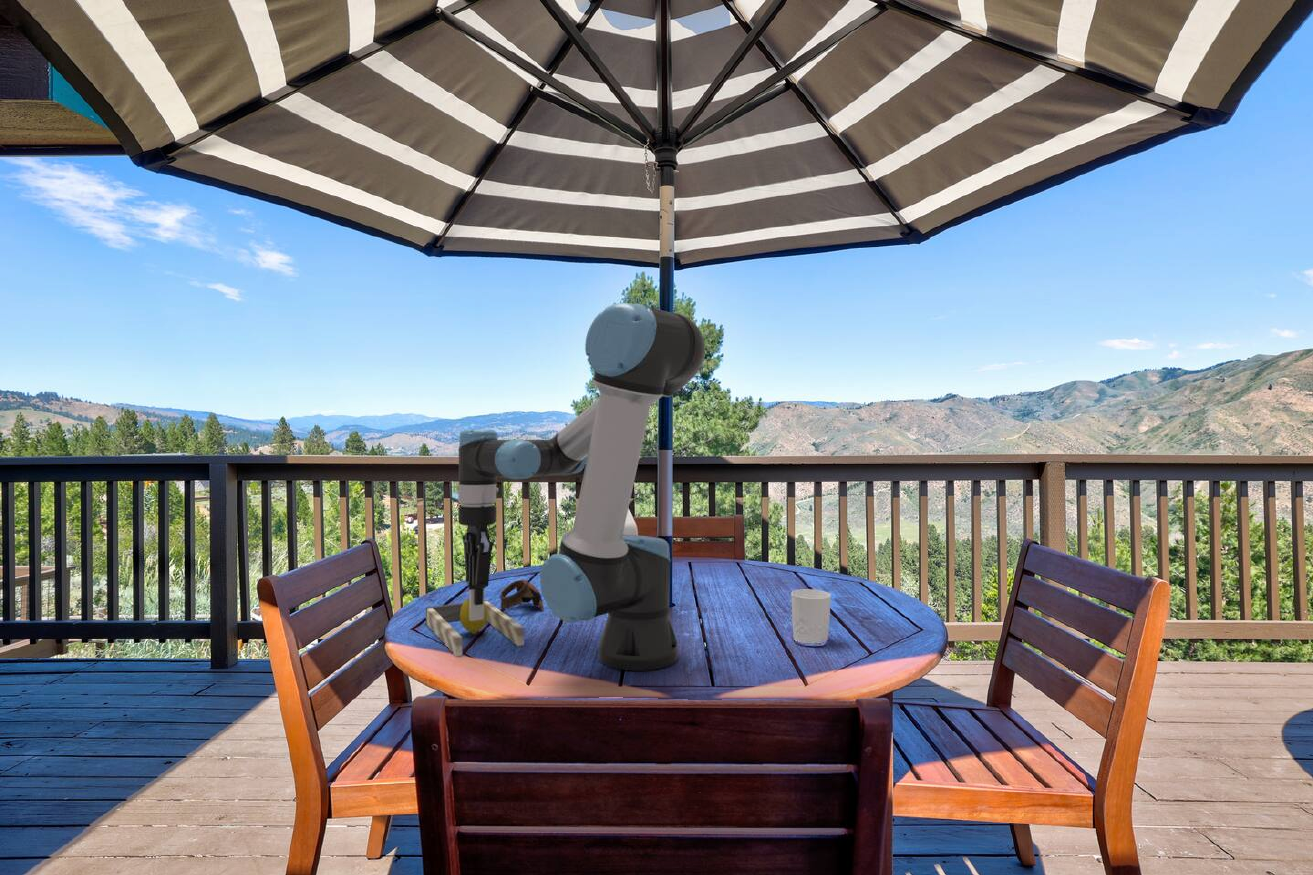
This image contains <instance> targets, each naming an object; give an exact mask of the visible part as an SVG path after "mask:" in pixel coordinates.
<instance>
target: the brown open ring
mask: <svg viewBox="0 0 1313 875" xmlns="http://www.w3.org/2000/svg"><path fill="white" fill-rule="evenodd" d="M536 587H537V586H535V585H533V584H531V583H530V582H529V581H528V580H527V579H526V580H525V579H519V580H515V581H513V582H511V583H510V584H508V585H507V586H506V587H504V588H503V590H502V591H501V594H500V595H499V599H500V608H501V610H502V612H506V611H505V610H506V609H509V608H512V607H514V606H518V605H519V606H523V603H524V604H525V603H528V604H529V603H530V602H531V601H532V604H533V605H532V606H533V607H540V609H539V610H540V612H544V608H545V607H544V602H543V599H542V594H541V593H540V591H539V590H538V588H536ZM515 589H516V592H515V593H513V594H511V595H510V596H509V594H510V593H511V592H513V591H514V590H515ZM507 595H508V596H507Z"/></svg>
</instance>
